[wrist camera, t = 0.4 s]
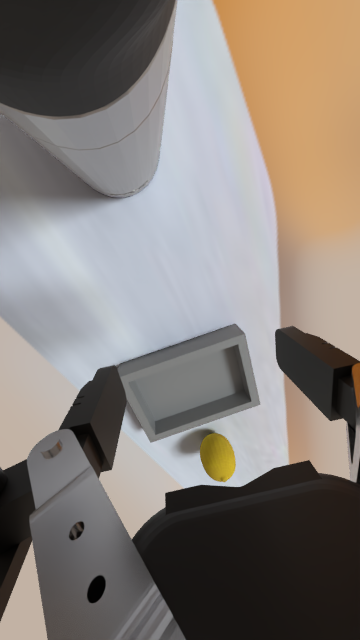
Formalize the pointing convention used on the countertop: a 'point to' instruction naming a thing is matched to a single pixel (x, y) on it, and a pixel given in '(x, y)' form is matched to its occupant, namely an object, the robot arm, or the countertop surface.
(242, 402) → the tray
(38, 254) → the countertop surface
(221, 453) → the lemon
